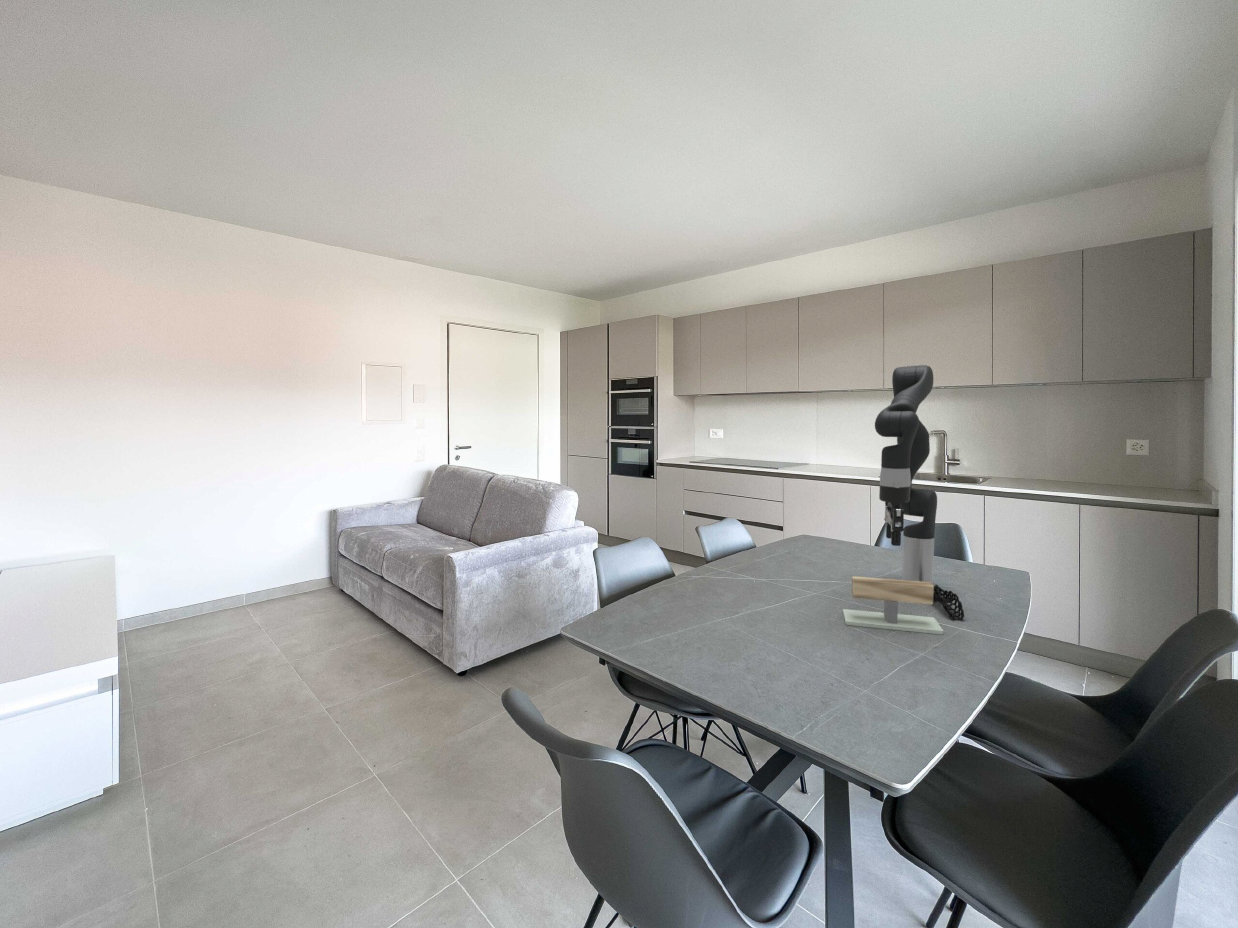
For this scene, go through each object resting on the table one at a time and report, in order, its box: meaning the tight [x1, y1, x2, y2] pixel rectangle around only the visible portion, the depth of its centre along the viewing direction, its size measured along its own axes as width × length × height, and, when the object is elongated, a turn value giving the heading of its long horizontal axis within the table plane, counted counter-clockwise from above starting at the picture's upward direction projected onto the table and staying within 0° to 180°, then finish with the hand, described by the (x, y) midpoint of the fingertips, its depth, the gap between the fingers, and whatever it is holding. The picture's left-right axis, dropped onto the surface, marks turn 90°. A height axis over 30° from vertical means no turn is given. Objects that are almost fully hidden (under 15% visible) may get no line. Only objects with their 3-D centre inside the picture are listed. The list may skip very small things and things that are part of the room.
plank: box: [851, 576, 935, 606], centre depth 150 cm, size 4×20×5 cm, turn 72°
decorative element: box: [933, 584, 965, 621], centre depth 162 cm, size 22×5×6 cm, turn 168°
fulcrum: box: [842, 600, 944, 636], centre depth 151 cm, size 10×24×7 cm, turn 72°
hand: (893, 541), depth 149 cm, fingers open, 8 cm apart
